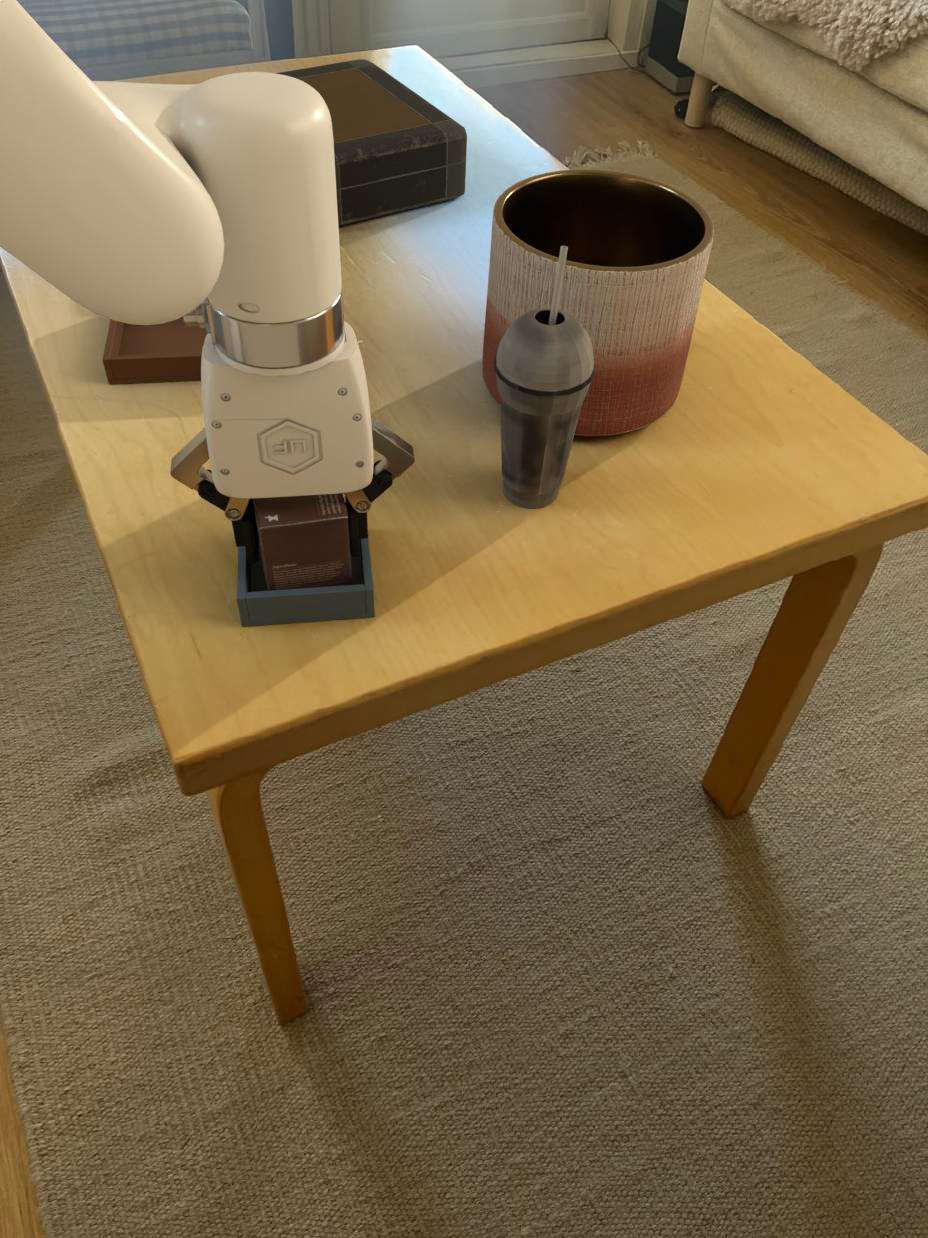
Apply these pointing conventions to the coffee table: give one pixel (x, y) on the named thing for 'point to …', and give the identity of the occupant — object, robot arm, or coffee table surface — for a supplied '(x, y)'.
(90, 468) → the coffee table surface
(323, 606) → the bin
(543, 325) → the beverage cup
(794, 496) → the coffee table surface
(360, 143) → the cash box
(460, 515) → the coffee table surface
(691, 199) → the planter
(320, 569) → the box
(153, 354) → the tray
